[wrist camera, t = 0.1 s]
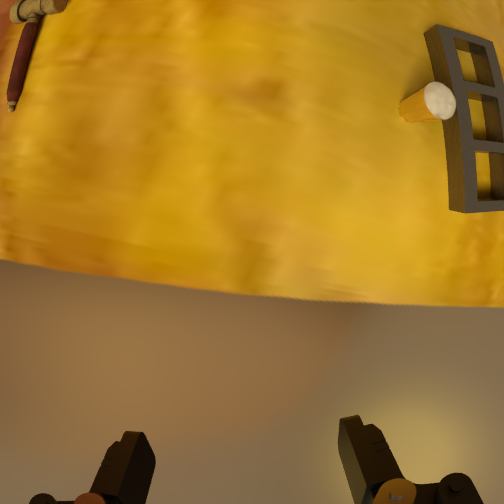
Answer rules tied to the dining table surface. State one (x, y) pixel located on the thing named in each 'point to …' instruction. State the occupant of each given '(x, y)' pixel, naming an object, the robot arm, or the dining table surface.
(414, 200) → the dining table surface
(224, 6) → the dining table surface
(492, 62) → the three-window grey frame
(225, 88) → the dining table surface
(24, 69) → the gavel
